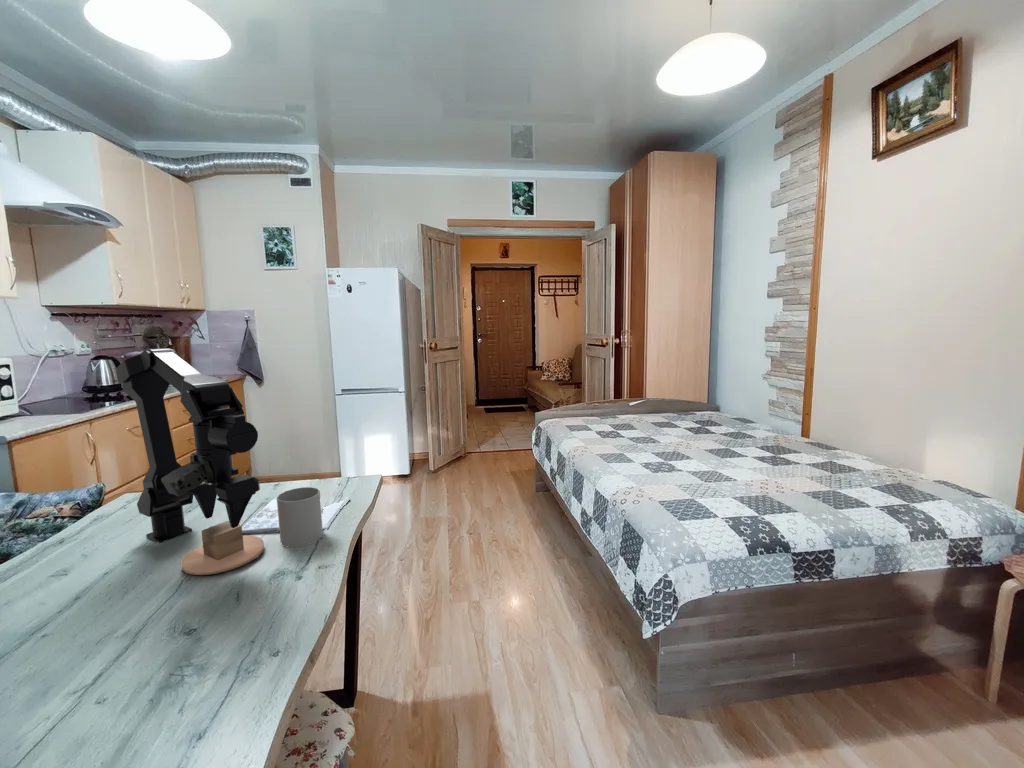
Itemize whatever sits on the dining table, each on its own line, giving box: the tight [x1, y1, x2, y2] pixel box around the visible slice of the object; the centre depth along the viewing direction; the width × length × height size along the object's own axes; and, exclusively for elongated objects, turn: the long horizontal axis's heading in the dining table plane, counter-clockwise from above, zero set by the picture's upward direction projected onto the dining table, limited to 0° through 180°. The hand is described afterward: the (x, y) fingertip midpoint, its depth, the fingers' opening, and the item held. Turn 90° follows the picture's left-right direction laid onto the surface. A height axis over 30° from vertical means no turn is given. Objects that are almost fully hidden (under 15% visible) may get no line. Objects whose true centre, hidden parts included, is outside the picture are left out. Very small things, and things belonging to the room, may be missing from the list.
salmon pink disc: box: [180, 534, 265, 576], centre depth 90 cm, size 14×14×1 cm
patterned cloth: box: [242, 496, 349, 535], centre depth 110 cm, size 19×20×2 cm
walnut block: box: [201, 520, 244, 560], centre depth 89 cm, size 5×5×5 cm
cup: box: [276, 486, 324, 548], centre depth 97 cm, size 8×8×10 cm
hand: (221, 522), depth 89 cm, fingers open, 9 cm apart
